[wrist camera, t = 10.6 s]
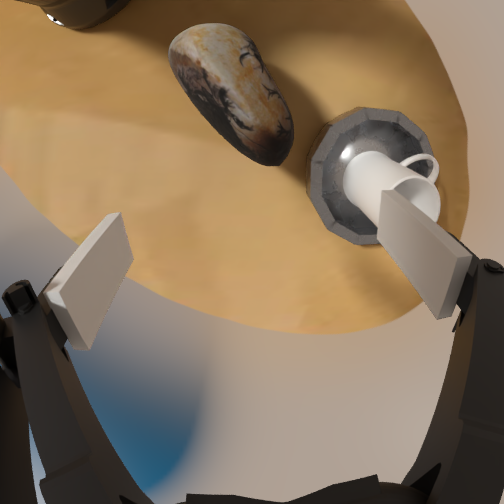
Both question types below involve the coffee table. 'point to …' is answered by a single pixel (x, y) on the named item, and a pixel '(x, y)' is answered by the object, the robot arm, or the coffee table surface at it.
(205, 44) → the decorative stone
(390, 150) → the gray metal bowl
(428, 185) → the mug
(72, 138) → the coffee table surface
